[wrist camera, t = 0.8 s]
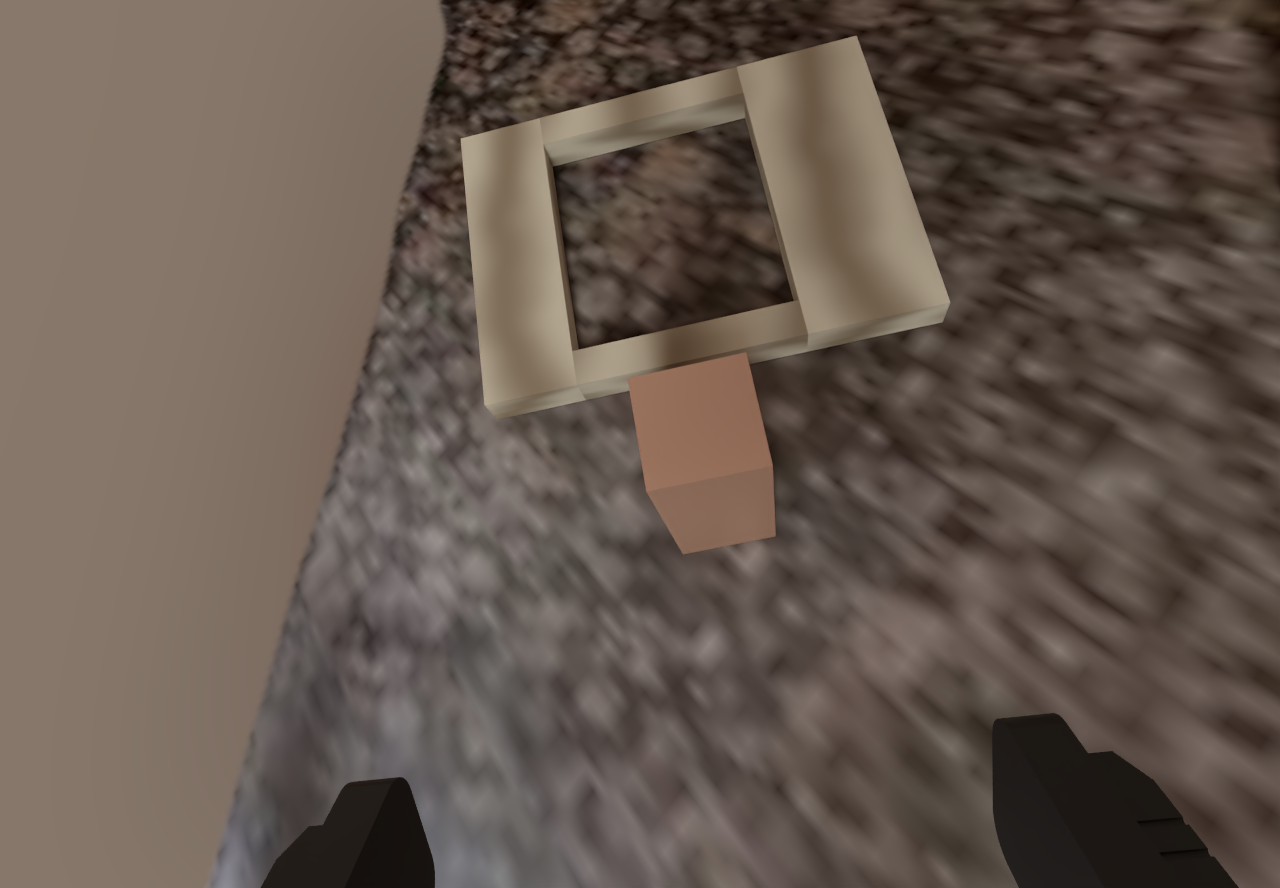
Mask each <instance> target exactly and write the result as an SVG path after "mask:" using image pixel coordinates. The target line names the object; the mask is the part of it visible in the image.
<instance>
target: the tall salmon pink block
mask: <svg viewBox="0 0 1280 888" xmlns="http://www.w3.org/2000/svg"><path fill="white" fill-rule="evenodd" d="M628 384H629V390H630V396H631V402H632V408H633V414H634V420H635V426H636V432H637V438H638V444H639V450H640V456H641V462H642V468H643V474H644V480H645V486H646V492H647V493H648V495H649V497H650V499H651V500H652V502H653V504H654V505H655V507H656V509H657V511H658V512H659V514H660V516H661V517H662V519H663V521H664V523H665V524H666V526H667V528H668V529H669V531H670V533H671V534H672V536H673V538H674V540H675V541H676V543H677V545H678V546H679V548H680V550H681V552H682V553H683V554H687V553H692V552H697V551H702V550H708V549H713V548H718V547H723V546H728V545H733V544H739V543H744V542H749V541H754V540H759V539H764V538H769V537H775V536H776V530H775V506H774V482H773V464H772V460H771V456H770V451H769V447H768V443H767V439H766V434H765V430H764V426H763V421H762V417H761V413H760V408H759V404H758V400H757V396H756V391H755V387H754V383H753V378H752V374H751V370H750V366H749V361H748V357H747V353H746V352H745V353H740V354H736V355H731V356H727V357H722V358H718V359H713V360H709V361H704V362H699V363H695V364H690V365H686V366H681V367H677V368H672V369H668V370H663V371H659V372H654V373H650V374H645V375H640V376H636V377H631V378H628Z"/></svg>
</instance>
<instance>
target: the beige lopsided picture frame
mask: <svg viewBox="0 0 1280 888" xmlns="http://www.w3.org/2000/svg"><path fill="white" fill-rule="evenodd" d="M743 118H745V120H746V123H747V127H748V131H749V135H750V139H751V142H752V146H753V150H754V154H755V157H756V161H757V165H758V169H759V172H760V176H761V180H762V184H763V188H764V191H765V195H766V199H767V203H768V206H769V210H770V214H771V218H772V221H773V225H774V229H775V233H776V236H777V240H778V244H779V248H780V252H781V255H782V259H783V263H784V267H785V270H786V274H787V278H788V282H789V285H790V289H791V293H792V297H793V301H792V302H787V303H783V304H779V305H774V306H770V307H765V308H761V309H756V310H752V311H748V312H743V313H739V314H734V315H730V316H725V317H721V318H717V319H712V320H708V321H703V322H699V323H695V324H690V325H686V326H681V327H677V328H672V329H668V330H664V331H659V332H655V333H650V334H646V335H641V336H637V337H633V338H628V339H624V340H619V341H615V342H611V343H606V344H602V345H597V346H593V347H588V348H584V349H580V350H579V348H578V341H577V334H576V327H575V320H574V313H573V306H572V299H571V292H570V285H569V278H568V271H567V264H566V257H565V250H564V243H563V236H562V229H561V222H560V215H559V208H558V201H557V194H556V187H555V180H554V173H553V166H557V165H561V164H565V163H569V162H573V161H577V160H581V159H585V158H589V157H593V156H597V155H601V154H605V153H609V152H613V151H617V150H621V149H624V148H628V147H632V146H636V145H640V144H644V143H648V142H652V141H656V140H660V139H664V138H668V137H672V136H676V135H680V134H684V133H688V132H692V131H696V130H699V129H703V128H707V127H711V126H715V125H719V124H723V123H727V122H731V121H735V120H739V119H743ZM461 147H462V158H463V169H464V181H465V192H466V203H467V214H468V225H469V236H470V247H471V258H472V269H473V280H474V292H475V303H476V314H477V325H478V336H479V347H480V358H481V369H482V380H483V392H484V403H485V406H486V407H487V408H488V409H489V411H490V412H491V413H492V414H493V415H494V416H495V417H496V418H497V419H502V418H507V417H511V416H516V415H520V414H525V413H530V412H534V411H539V410H543V409H548V408H552V407H557V406H562V405H566V404H571V403H575V402H580V401H584V400H589V399H594V398H598V397H603V396H607V395H612V394H616V393H621V392H626V391H630V390H629V384H628V378H631V377H636V376H640V375H645V374H650V373H654V372H659V371H663V370H668V369H672V368H677V367H681V366H686V365H690V364H695V363H699V362H704V361H709V360H713V359H718V358H722V357H727V356H731V355H736V354H740V353H745V352H746V353H747V357H748V361H749V364H754V363H758V362H763V361H767V360H772V359H776V358H781V357H786V356H790V355H795V354H799V353H804V352H808V351H813V350H818V349H822V348H827V347H831V346H836V345H840V344H845V343H850V342H854V341H859V340H863V339H868V338H872V337H877V336H882V335H886V334H891V333H895V332H900V331H904V330H909V329H914V328H918V327H923V326H927V325H932V324H936V323H941V322H943V320H944V317H945V315H946V312H947V310H948V307H949V305H950V300H949V297H948V294H947V291H946V289H945V286H944V283H943V280H942V277H941V274H940V272H939V269H938V266H937V263H936V260H935V257H934V254H933V252H932V249H931V246H930V243H929V240H928V237H927V235H926V232H925V229H924V226H923V223H922V220H921V218H920V215H919V212H918V209H917V206H916V203H915V200H914V198H913V195H912V192H911V189H910V186H909V183H908V181H907V178H906V175H905V172H904V169H903V166H902V163H901V161H900V158H899V155H898V152H897V149H896V146H895V144H894V141H893V138H892V135H891V132H890V129H889V126H888V124H887V121H886V118H885V115H884V112H883V109H882V107H881V104H880V101H879V98H878V95H877V92H876V90H875V87H874V84H873V81H872V78H871V75H870V72H869V70H868V67H867V64H866V61H865V58H864V55H863V53H862V50H861V47H860V44H859V41H858V38H857V36H853V37H849V38H845V39H842V40H838V41H834V42H830V43H826V44H822V45H819V46H815V47H811V48H807V49H803V50H799V51H796V52H792V53H788V54H784V55H780V56H776V57H773V58H769V59H765V60H761V61H757V62H753V63H750V64H746V65H742V66H738V67H734V68H730V69H726V70H723V71H719V72H715V73H711V74H707V75H703V76H700V77H696V78H692V79H688V80H684V81H680V82H677V83H673V84H669V85H665V86H661V87H657V88H654V89H650V90H646V91H642V92H638V93H634V94H631V95H627V96H623V97H619V98H615V99H611V100H608V101H604V102H600V103H596V104H592V105H588V106H585V107H581V108H577V109H573V110H569V111H565V112H562V113H558V114H554V115H550V116H546V117H542V118H539V119H535V120H531V121H527V122H523V123H519V124H516V125H512V126H508V127H504V128H500V129H496V130H492V131H489V132H485V133H481V134H477V135H473V136H469V137H466V138H462V139H461Z"/></svg>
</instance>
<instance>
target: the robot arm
mask: <svg viewBox="0 0 1280 888" xmlns="http://www.w3.org/2000/svg"><path fill="white" fill-rule="evenodd" d="M992 756H993V815H994V822H995V827H996V832H997V835H998V839H999V843H1000V846H1001V849H1002V852H1003V854H1004V857H1005V859H1006V862H1007V864H1008V866H1009V868H1010V870H1011V872H1012V874H1013V876H1014V878H1015V880H1016V883H1017V885H1018V887H1019V888H1239V887H1238V886H1237V885H1236V884H1235V882H1234V881H1233V880H1232V879H1231V877H1230V876H1229V875H1228V873H1227V872H1226V871H1225V870H1224V868H1223V867H1222V866H1221V865H1220V863H1219V862H1218V861H1217V860H1216V858H1215V857H1211V856H1210V855H1209V853H1208V848H1207V847H1206V846H1205V844H1204V843H1203V842H1202V841H1201V839H1200V838H1199V837H1198V836H1197V834H1196V833H1195V832H1194V831H1193V829H1192V828H1191V827H1190V825H1186V824H1185V823H1184V821H1183V817H1182V815H1181V814H1180V813H1179V812H1178V810H1177V809H1176V808H1175V807H1174V805H1173V804H1172V803H1171V801H1170V800H1169V799H1168V798H1167V796H1166V795H1165V794H1164V793H1163V791H1162V790H1161V789H1160V788H1159V786H1158V785H1157V784H1156V783H1155V781H1154V780H1153V779H1151V778H1150V777H1148V776H1147V775H1145V774H1144V773H1143V772H1141V771H1140V770H1138V769H1137V768H1135V767H1134V766H1133V765H1131V764H1130V763H1128V762H1127V761H1125V760H1124V759H1123V758H1121V757H1120V756H1118V755H1117V754H1115V753H1114V752H1113V751H1109V752H1099V753H1087V751H1086V750H1085V749H1084V747H1083V746H1082V744H1081V743H1080V742H1079V740H1078V739H1077V737H1076V736H1075V735H1074V733H1073V732H1072V730H1071V729H1070V728H1069V726H1068V725H1067V723H1066V722H1065V721H1064V720H1063V718H1062V717H1060V716H1059V715H1058V714H1055V713H1050V714H1040V715H1030V716H1020V717H1011V718H1001V719H996V720H995V721H994V724H993V730H992ZM261 888H435V870H434V862H433V858H432V854H431V851H430V848H429V845H428V841H427V838H426V835H425V832H424V829H423V826H422V823H421V820H420V816H419V813H418V810H417V807H416V804H415V801H414V798H413V794H412V791H411V788H410V786H409V784H408V782H407V781H406V780H405V779H404V778H402V777H397V778H387V779H377V780H368V781H358V782H350V783H348V784H347V785H345V786H344V788H343V789H342V790H341V792H340V794H339V795H338V797H337V799H336V801H335V803H334V805H333V807H332V809H331V811H330V813H329V814H328V816H327V818H326V820H325V822H324V824H323V825H319V826H309V827H308V828H307V829H306V830H305V831H304V832H303V833H302V834H301V835H300V836H299V837H298V838H297V839H296V840H295V841H294V842H293V843H292V844H291V845H290V846H289V847H288V848H287V849H286V850H285V852H284V853H283V854H282V855H281V856H280V857H279V858H278V859H277V860H276V862H275V863H274V865H273V867H272V869H271V870H270V872H269V874H268V876H267V877H266V879H265V881H264V883H263V884H262V886H261Z"/></svg>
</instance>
